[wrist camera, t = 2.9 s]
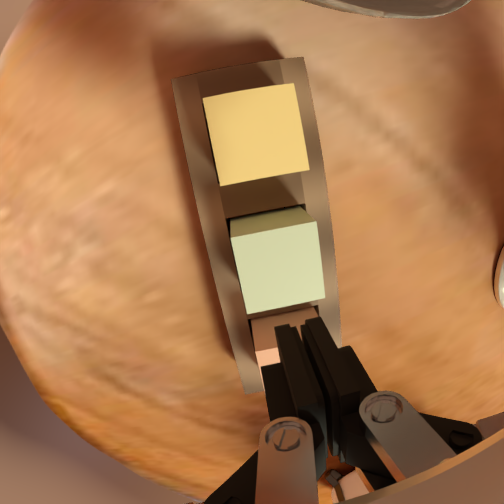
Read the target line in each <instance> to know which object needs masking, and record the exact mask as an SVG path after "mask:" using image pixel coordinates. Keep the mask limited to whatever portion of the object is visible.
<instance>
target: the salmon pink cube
mask: <svg viewBox="0 0 504 504" xmlns="http://www.w3.org/2000/svg"><path fill="white" fill-rule="evenodd" d="M315 317H318V315H317V313H316V311H315V309H314V307H313V306H310V307H305V308H301V309H296V310H291V311H286V312H282V313H277V314H272V315H267V316H262V317H257V318H252V319H251V323H252V331H253V339H254V346H255V353H256V357H257V362H258V366H259V370H260V375H261V379H262V373H261V367H260V366H265V365H270V364H275V363H280V358H279V352H278V347H277V341H276V336H275V330H274V327H275V326H280V325H284V324H290V327H294V326H296V327H297V330H298V332H299V335H300V337H301V329H300V325H303V324H305V320H306V319H311V318H315ZM301 340H302V337H301ZM262 383H263V379H262ZM263 387H264V384H263ZM264 392H265V390H264ZM265 396H266V395H265Z"/></svg>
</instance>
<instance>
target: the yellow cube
mask: <svg viewBox="0 0 504 504" xmlns="http://www.w3.org/2000/svg"><path fill="white" fill-rule="evenodd" d="M203 103H204V108H205V113H206V118H207V123H208V128H209V133H210V138H211V143H212V148H213V153H214V158H215V163H216V168H217V173H218V177H219V182H220V186H225V185H229V184H234V183H240V182H245V181H250V180H255V179H260V178H266V177H271V176H277V175H283V174H288V173H294V172H300V171H306V170H310V169H309V163H308V157H307V151H306V145H305V139H304V134H303V128H302V123H301V117H300V112H299V107H298V101H297V96H296V91H295V86H294V83H290V84H282V85H274V86H267V87H260V88H254V89H248V90H242V91H236V92H231V93H225V94H220V95H215V96H210V97H206V98H203Z"/></svg>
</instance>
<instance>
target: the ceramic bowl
mask: <svg viewBox="0 0 504 504" xmlns="http://www.w3.org/2000/svg"><path fill="white" fill-rule="evenodd" d="M302 1H305V2H309V3H312V4H315V5H318V6H322V7H326V8H330V9H334V10H338V11H342V12H349V13H357V14H363V15H367V16H372V17H382V18H409V19H422V18H433V17H438V16H443V15H445V14H448V13H451V12H453V11H456V10H458V9H459V8H461V7H463V6H464V5H466V4H468V3H469V2H470V1H471V0H302Z"/></svg>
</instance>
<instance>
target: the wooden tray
mask: <svg viewBox="0 0 504 504" xmlns="http://www.w3.org/2000/svg"><path fill="white" fill-rule="evenodd" d="M171 82H172V88H173V93H174V98H175V104H176V109H177V114H178V119H179V124H180V129H181V134H182V139H183V144H184V149H185V154H186V159H187V163H188V168H189V173H190V177H191V182H192V187H193V191H194V196H195V200H196V205H197V209H198V213H199V218H200V222H201V226H202V231H203V235H204V239H205V243H206V248H207V252H208V256H209V260H210V264H211V268H212V272H213V276H214V280H215V284H216V288H217V292H218V296H219V300H220V304H221V308H222V312H223V315H224V319H225V323H226V327H227V331H228V334H229V338H230V342H231V345H232V349H233V353H234V356H235V360H236V364H237V367H238V371H239V374H240V378H241V381H242V385H243V388H244V392H245V394H250V393H256V392H261V391H264V387H263V383H262V379H261V375H260V370H259V366H258V362H257V357H256V353H255V346H254V339H253V331H252V327H251V322H250V319H252V318H257V317H262V316H267V315H272V314H277V313H282V312H286V311H291V310H296V309H301V308H305V307H310V306H313V307H314V309H315V311H316V313H317V315H318V317H319V316H320V317H321V318H322V320H323V322H324V323H325V325H326V327H327V329H328V331H329V333H330V334H331V336H332V338H333V340H334V342H335V344H336V345H337V347H338V348H341V347H342V340H341V322H340V307H339V293H338V281H337V270H336V259H335V249H334V240H333V231H332V222H331V214H330V206H329V198H328V191H327V184H326V177H325V170H324V163H323V157H322V151H321V145H320V139H319V133H318V127H317V122H316V116H315V111H314V105H313V100H312V95H311V90H310V85H309V80H308V76H307V71H306V66H305V62H304V57H297V58H287V59H278V60H270V61H262V62H255V63H248V64H242V65H236V66H230V67H225V68H219V69H214V70H209V71H205V72H200V73H195V74H191V75H187V76H182V77H178V78H174V79H171ZM290 83H294V86H295V91H296V96H297V101H298V107H299V112H300V117H301V123H302V128H303V134H304V139H305V145H306V151H307V157H308V163H309V169H310V170H306V171H300V172H294V173H288V174H283V175H277V176H271V177H266V178H260V179H255V180H250V181H245V182H240V183H234V184H229V185H225V186H220V182H219V177H218V173H217V168H216V163H215V158H214V153H213V148H212V143H211V138H210V133H209V128H208V123H207V118H206V113H205V108H204V103H203V98H206V97H210V96H215V95H220V94H225V93H231V92H236V91H242V90H248V89H254V88H260V87H267V86H274V85H282V84H290ZM292 205H296V206H300V207H301V208H302V209H303V210H304V211H306V212H307V213H308V214H309V215H310V216H311V217H312V218H313V219H315V220H316V221H317V229H318V237H319V245H320V253H321V262H322V271H323V280H324V290H325V298H323V299H318V300H314V301H309V302H304V303H300V304H295V305H290V306H286V307H281V308H276V309H271V310H266V311H261V312H256V313H251V314H247V311H246V306H245V302H244V297H243V293H242V288H241V284H240V279H239V275H238V270H237V266H236V261H235V256H234V252H233V247H232V243H231V235H230V225H229V221H228V218H230V217H235V216H240V215H245V214H250V213H255V212H261V211H266V210H271V209H276V208H282V207H287V206H292Z"/></svg>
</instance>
